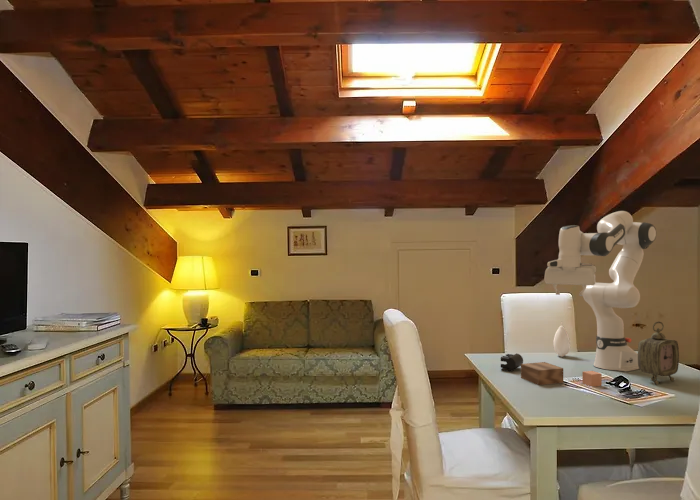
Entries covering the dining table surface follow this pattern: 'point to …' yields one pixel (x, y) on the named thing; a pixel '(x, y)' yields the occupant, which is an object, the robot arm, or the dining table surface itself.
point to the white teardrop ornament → (561, 341)
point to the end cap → (511, 362)
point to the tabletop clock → (658, 355)
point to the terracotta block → (592, 378)
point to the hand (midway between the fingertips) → (569, 295)
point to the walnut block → (542, 373)
